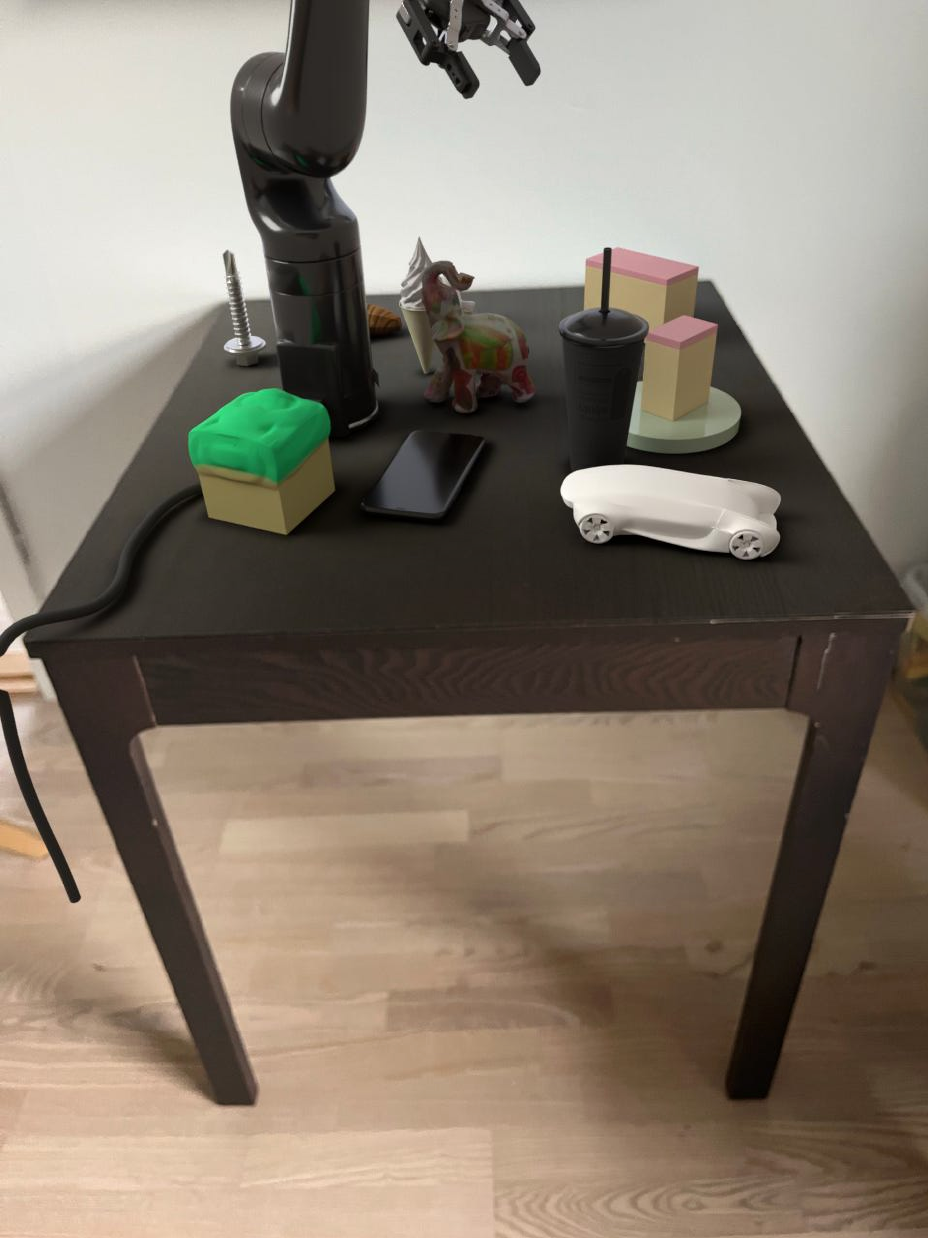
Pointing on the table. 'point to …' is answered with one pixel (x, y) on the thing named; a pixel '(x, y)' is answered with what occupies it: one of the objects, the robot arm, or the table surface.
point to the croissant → (382, 320)
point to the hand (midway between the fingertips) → (504, 85)
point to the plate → (685, 426)
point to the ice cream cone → (418, 306)
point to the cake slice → (678, 367)
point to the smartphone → (424, 476)
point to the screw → (239, 318)
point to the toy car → (674, 508)
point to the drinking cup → (601, 378)
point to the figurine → (471, 345)
